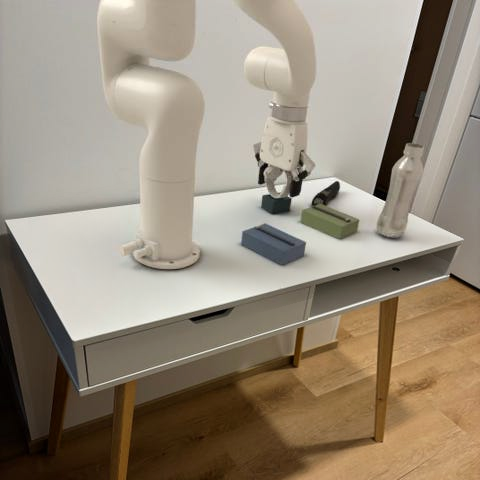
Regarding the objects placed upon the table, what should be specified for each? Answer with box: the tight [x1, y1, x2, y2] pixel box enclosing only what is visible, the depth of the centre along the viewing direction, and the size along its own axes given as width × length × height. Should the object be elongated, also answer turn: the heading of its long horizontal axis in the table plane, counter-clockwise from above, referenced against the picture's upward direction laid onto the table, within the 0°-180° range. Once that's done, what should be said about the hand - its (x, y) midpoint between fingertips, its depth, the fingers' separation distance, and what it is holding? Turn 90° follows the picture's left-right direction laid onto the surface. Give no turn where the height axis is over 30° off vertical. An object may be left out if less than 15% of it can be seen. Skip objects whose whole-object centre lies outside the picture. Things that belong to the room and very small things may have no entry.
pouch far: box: [300, 204, 361, 240], centre depth 111 cm, size 7×11×4 cm, turn 46°
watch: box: [260, 164, 294, 215], centre depth 115 cm, size 6×8×11 cm
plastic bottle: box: [376, 142, 425, 239], centre depth 106 cm, size 6×7×20 cm
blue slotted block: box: [240, 223, 307, 266], centre depth 98 cm, size 7×11×4 cm, turn 46°
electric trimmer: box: [311, 180, 341, 207], centre depth 126 cm, size 4×16×3 cm, turn 153°
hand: (278, 189), depth 115 cm, fingers open, 9 cm apart
